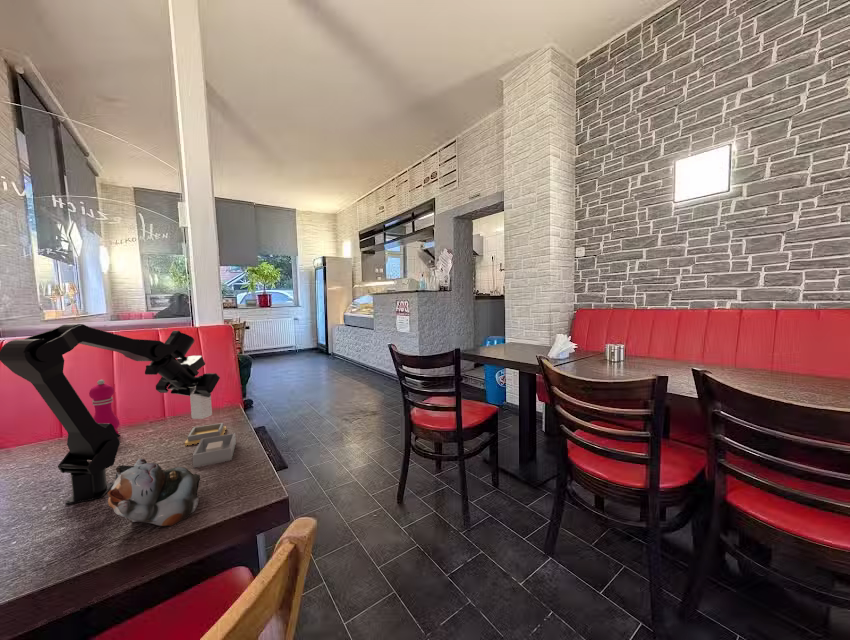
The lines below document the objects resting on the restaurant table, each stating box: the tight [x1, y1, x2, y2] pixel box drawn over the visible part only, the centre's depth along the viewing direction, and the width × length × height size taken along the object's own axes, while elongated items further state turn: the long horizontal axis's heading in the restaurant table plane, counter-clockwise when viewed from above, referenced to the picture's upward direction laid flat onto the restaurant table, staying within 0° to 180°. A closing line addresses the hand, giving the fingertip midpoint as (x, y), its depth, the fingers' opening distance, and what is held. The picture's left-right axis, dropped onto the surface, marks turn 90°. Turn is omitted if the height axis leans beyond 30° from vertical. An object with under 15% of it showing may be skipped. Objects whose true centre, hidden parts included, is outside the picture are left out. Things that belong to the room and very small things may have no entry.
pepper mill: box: [88, 379, 121, 435], centre depth 112 cm, size 7×7×20 cm
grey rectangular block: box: [189, 375, 213, 420], centre depth 111 cm, size 4×4×13 cm
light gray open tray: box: [192, 432, 237, 468], centre depth 98 cm, size 12×9×4 cm
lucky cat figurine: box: [106, 458, 201, 527], centre depth 70 cm, size 15×12×14 cm
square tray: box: [184, 422, 227, 447], centre depth 111 cm, size 10×10×3 cm
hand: (204, 396), depth 112 cm, fingers closed on grey rectangular block, 4 cm apart
